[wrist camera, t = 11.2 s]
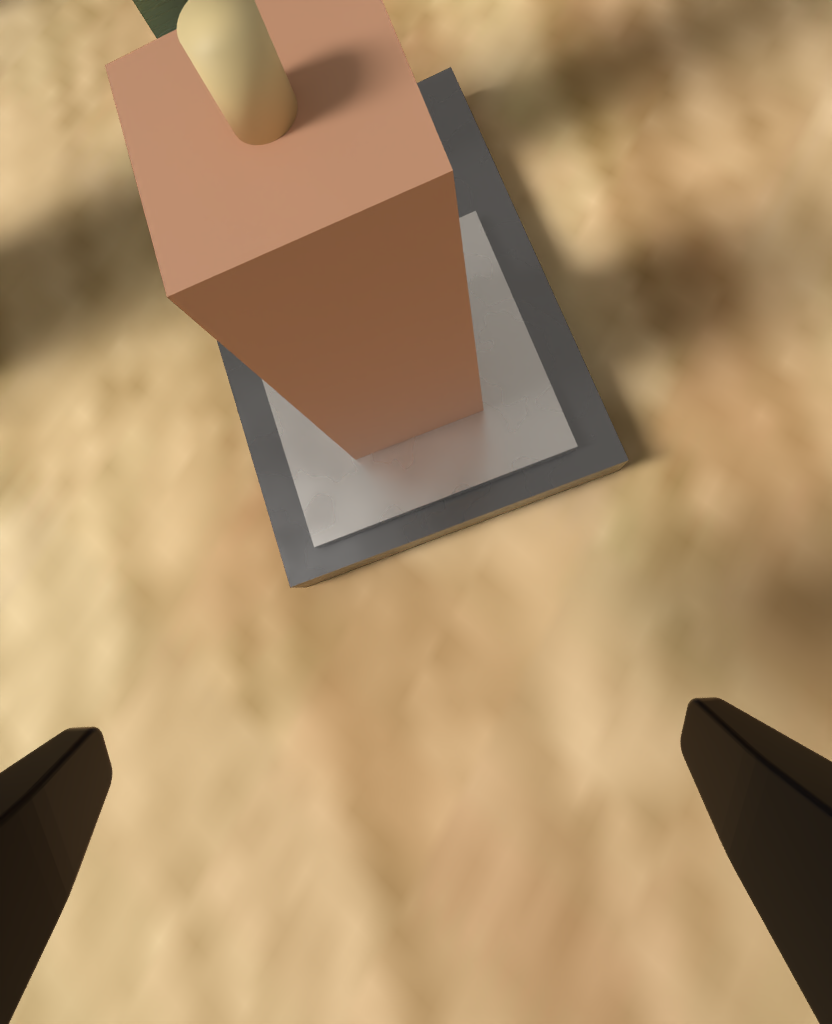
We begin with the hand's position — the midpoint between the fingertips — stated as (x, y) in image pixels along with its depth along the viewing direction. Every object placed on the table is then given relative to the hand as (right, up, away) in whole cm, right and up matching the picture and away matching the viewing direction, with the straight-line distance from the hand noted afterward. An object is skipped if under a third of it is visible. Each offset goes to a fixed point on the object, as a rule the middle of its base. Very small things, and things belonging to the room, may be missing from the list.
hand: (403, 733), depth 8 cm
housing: (0, +8, +12) cm, 14 cm away
